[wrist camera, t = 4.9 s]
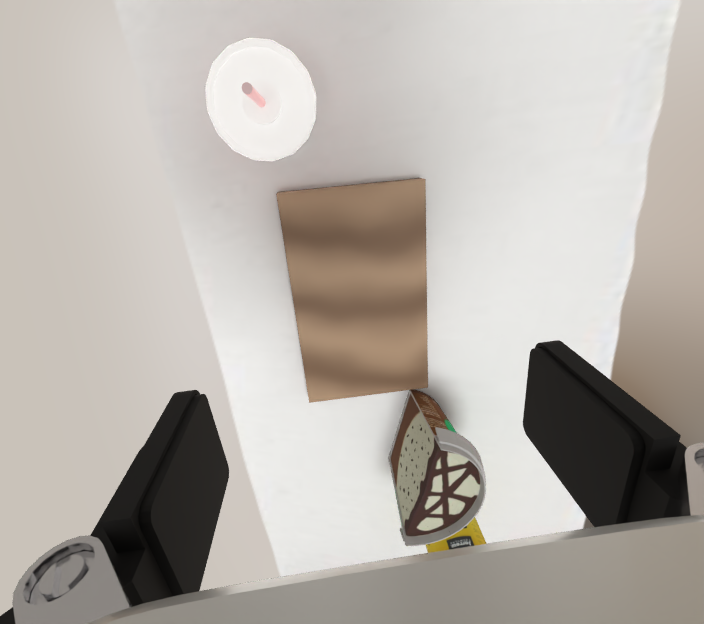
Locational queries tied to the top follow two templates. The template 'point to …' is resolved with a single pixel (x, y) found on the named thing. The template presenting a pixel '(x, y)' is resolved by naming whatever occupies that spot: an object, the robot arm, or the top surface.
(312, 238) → the walnut board
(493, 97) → the top surface
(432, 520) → the food container
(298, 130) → the beverage cup
